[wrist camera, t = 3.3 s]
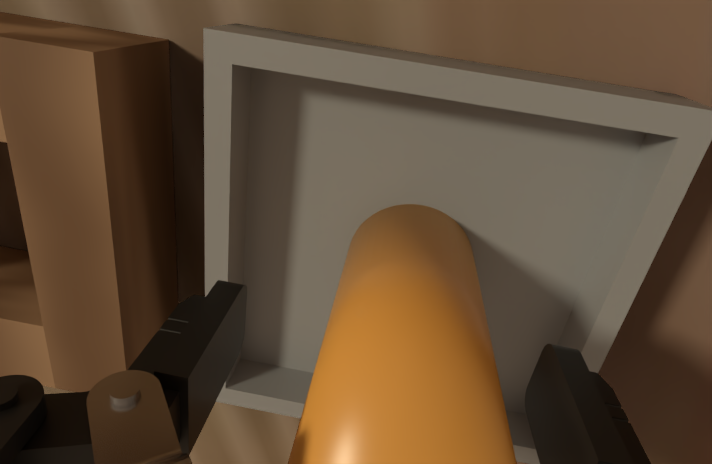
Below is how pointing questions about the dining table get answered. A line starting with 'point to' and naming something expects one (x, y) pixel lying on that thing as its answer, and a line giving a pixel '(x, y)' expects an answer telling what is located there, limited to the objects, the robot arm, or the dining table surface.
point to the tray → (431, 194)
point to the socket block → (85, 199)
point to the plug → (406, 353)
